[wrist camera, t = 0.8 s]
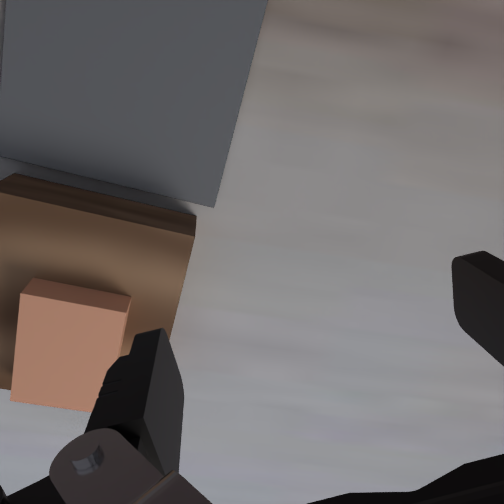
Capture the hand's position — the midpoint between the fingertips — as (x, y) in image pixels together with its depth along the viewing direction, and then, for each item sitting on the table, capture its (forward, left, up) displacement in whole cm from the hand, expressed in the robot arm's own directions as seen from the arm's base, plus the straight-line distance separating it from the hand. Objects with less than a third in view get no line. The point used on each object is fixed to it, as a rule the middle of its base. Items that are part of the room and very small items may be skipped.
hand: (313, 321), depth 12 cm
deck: (+11, -9, -19) cm, 24 cm away
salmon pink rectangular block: (+13, -9, -15) cm, 22 cm away
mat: (-5, -9, -19) cm, 22 cm away
